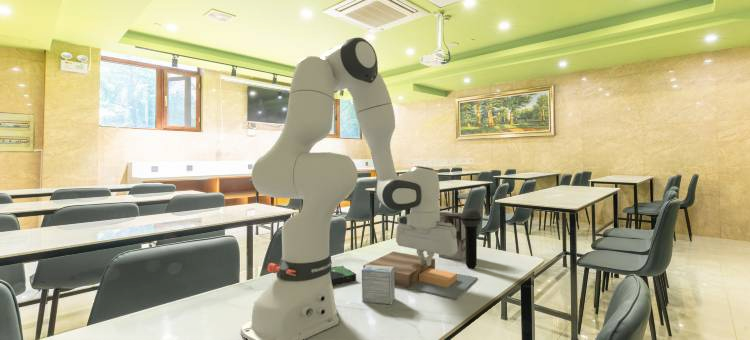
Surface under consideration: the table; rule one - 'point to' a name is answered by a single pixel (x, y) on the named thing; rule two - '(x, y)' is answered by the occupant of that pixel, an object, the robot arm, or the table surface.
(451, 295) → the mat
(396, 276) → the board
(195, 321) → the table surface
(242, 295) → the table surface
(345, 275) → the disk drive
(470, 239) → the microphone
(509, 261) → the table surface
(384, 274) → the medicine box
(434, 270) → the orange block
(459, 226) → the coffee box
